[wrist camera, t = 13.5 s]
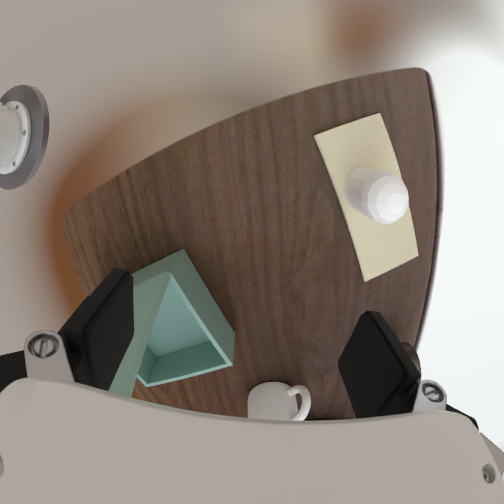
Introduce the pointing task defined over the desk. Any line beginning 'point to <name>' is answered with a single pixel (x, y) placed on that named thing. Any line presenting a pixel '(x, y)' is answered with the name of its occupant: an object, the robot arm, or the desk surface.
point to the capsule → (376, 195)
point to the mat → (360, 227)
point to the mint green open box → (184, 326)
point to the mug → (278, 402)
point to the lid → (140, 331)
